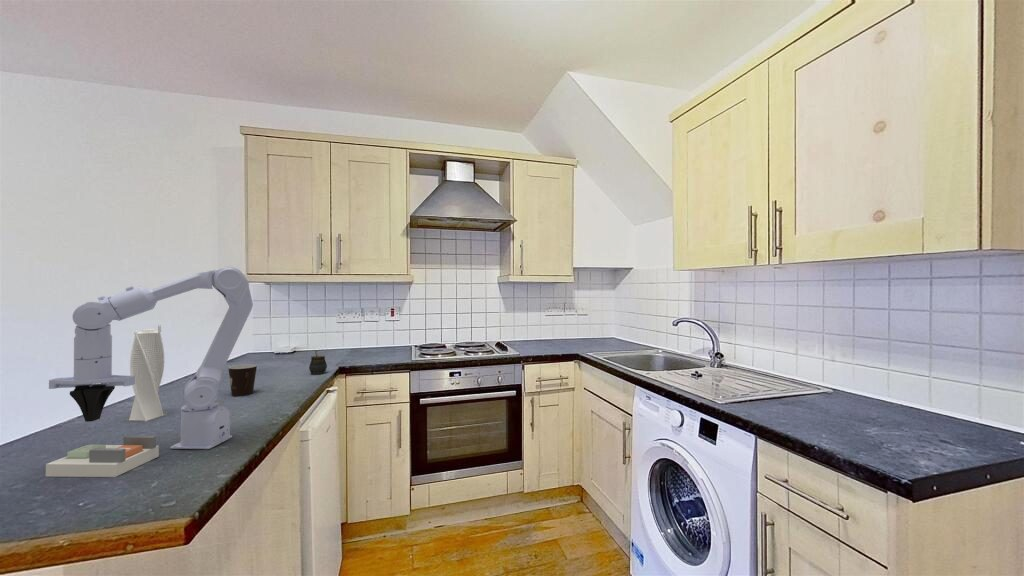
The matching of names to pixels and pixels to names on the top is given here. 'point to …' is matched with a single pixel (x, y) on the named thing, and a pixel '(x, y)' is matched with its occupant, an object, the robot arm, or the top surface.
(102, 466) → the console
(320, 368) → the mate gourd
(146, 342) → the skyscraper
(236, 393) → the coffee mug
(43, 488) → the top surface
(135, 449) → the button
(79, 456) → the on button
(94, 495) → the top surface
